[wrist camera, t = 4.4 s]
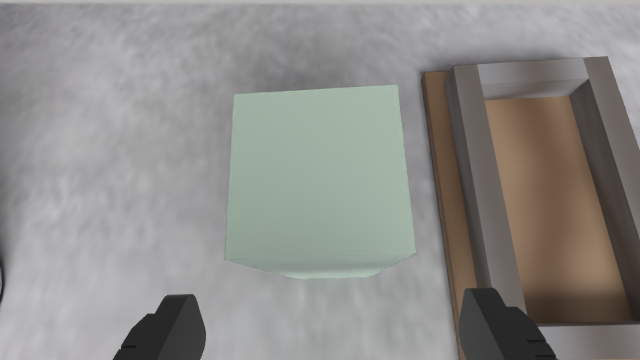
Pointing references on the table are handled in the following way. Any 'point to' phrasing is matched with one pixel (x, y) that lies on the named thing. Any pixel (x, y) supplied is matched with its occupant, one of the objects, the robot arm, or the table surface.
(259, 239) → the pale green angular block
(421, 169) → the table surface
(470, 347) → the robot arm
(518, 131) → the track
